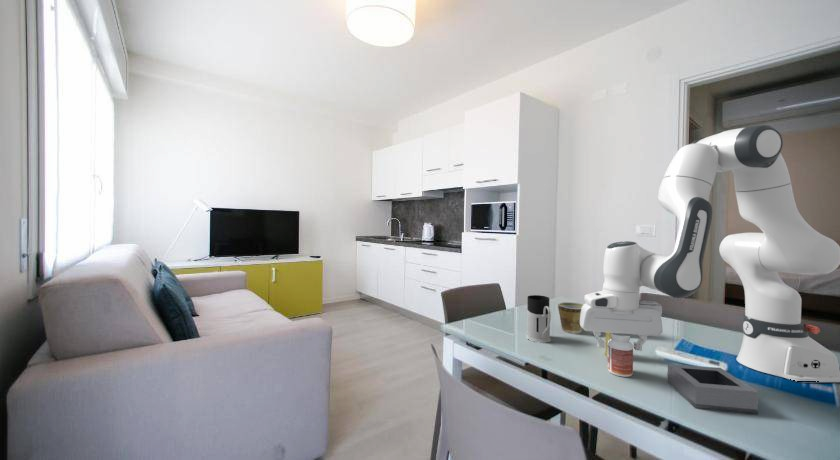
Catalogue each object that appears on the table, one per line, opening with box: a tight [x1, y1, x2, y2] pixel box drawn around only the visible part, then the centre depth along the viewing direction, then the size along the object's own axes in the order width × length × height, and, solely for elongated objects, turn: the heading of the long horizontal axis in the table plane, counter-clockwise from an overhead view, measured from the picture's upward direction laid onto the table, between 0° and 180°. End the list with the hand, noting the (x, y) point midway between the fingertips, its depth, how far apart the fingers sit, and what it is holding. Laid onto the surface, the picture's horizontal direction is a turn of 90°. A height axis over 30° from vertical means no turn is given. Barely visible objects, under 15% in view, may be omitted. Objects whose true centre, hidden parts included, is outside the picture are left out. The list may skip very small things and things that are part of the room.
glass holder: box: [525, 294, 552, 344], centre depth 117 cm, size 9×14×15 cm, turn 2°
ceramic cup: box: [557, 301, 584, 335], centre depth 129 cm, size 13×10×10 cm
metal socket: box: [667, 363, 759, 415], centre depth 80 cm, size 12×12×5 cm
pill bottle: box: [606, 333, 634, 378], centre depth 93 cm, size 6×6×11 cm
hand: (619, 348), depth 93 cm, fingers open, 8 cm apart
